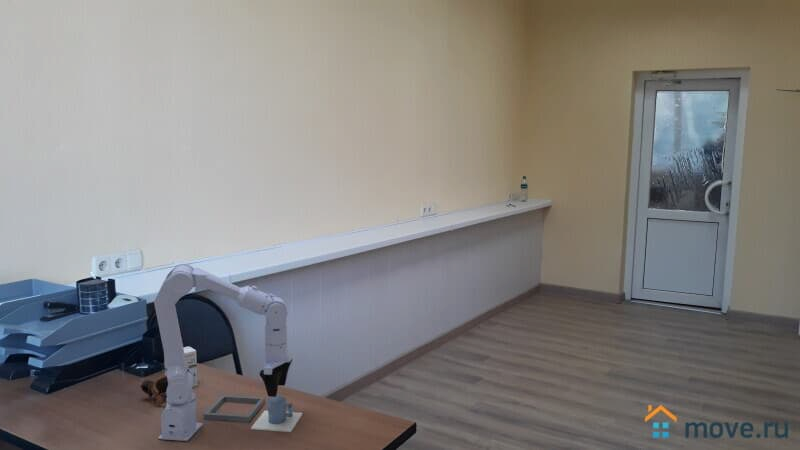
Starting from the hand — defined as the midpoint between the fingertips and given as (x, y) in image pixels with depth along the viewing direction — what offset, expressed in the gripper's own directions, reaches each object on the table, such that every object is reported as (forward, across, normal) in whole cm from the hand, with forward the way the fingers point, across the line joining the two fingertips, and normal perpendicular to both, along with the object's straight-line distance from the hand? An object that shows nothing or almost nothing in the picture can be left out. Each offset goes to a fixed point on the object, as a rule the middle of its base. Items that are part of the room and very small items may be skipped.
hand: (276, 390), depth 171 cm
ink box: (+9, +19, +37) cm, 43 cm away
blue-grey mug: (+8, 0, 0) cm, 8 cm away
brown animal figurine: (+9, +9, +38) cm, 40 cm away
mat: (+9, 0, 0) cm, 9 cm away
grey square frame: (+9, +5, +14) cm, 17 cm away
